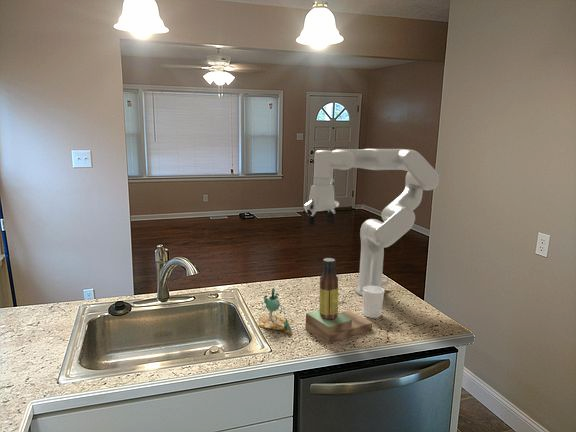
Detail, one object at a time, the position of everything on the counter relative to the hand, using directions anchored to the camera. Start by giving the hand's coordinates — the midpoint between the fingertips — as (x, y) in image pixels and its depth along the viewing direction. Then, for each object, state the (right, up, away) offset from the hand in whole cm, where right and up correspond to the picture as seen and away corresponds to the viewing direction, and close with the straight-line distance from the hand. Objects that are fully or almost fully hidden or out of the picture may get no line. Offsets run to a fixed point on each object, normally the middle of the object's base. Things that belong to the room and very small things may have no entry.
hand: (321, 224), depth 172 cm
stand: (+4, -36, -24) cm, 43 cm away
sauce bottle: (0, -31, -28) cm, 41 cm away
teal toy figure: (-18, -35, -23) cm, 46 cm away
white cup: (+18, -34, -11) cm, 40 cm away
